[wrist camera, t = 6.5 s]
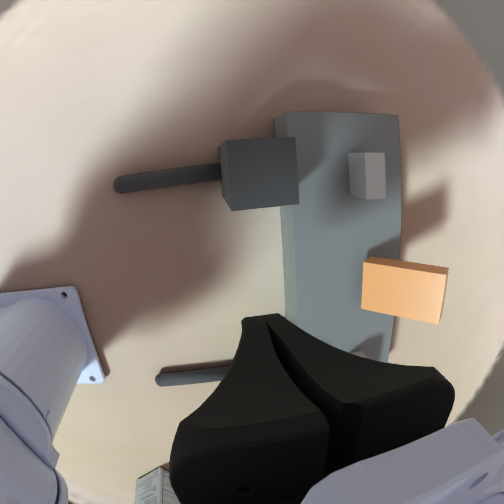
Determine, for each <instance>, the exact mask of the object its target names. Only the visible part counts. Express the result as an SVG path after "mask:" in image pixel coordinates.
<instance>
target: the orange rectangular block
mask: <svg viewBox="0 0 504 504" xmlns="http://www.w3.org/2000/svg"><path fill="white" fill-rule="evenodd" d="M448 270H449V268H446V267H439V266H433V265H426V264H420V263H413V262H406V261H399V260H393V259H386V258H379V257H372V256H370V257H369V258H368V259H366V260H365V261H364V262H363V282H362V301H361V309H365V310H370V311H375V312H379V313H384V314H389V315H393V316H398V317H403V318H408V319H413V320H418V321H423V322H428V323H433V324H439V322H440V319H441V316H442V310H443V305H444V298H445V292H446V285H447V278H448Z"/></svg>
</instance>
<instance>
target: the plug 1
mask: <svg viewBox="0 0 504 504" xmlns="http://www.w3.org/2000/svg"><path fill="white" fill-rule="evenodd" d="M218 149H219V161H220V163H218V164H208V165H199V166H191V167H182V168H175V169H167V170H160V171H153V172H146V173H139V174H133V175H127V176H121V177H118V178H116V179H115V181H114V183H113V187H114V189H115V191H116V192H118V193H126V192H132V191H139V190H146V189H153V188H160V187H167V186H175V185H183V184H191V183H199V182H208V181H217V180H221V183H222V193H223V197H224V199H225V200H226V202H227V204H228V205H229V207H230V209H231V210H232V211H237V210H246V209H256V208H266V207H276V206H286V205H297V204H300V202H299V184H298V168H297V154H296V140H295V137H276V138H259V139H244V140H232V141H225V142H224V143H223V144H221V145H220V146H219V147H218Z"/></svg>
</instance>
